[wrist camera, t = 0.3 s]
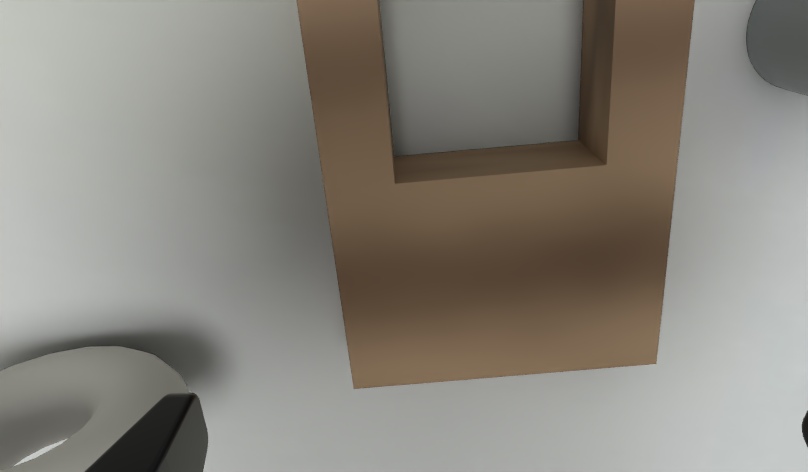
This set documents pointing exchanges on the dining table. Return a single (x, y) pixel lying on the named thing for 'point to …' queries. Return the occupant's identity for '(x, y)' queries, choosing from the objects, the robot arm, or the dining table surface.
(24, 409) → the donut
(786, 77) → the peg
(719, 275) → the dining table surface
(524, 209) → the socket block
